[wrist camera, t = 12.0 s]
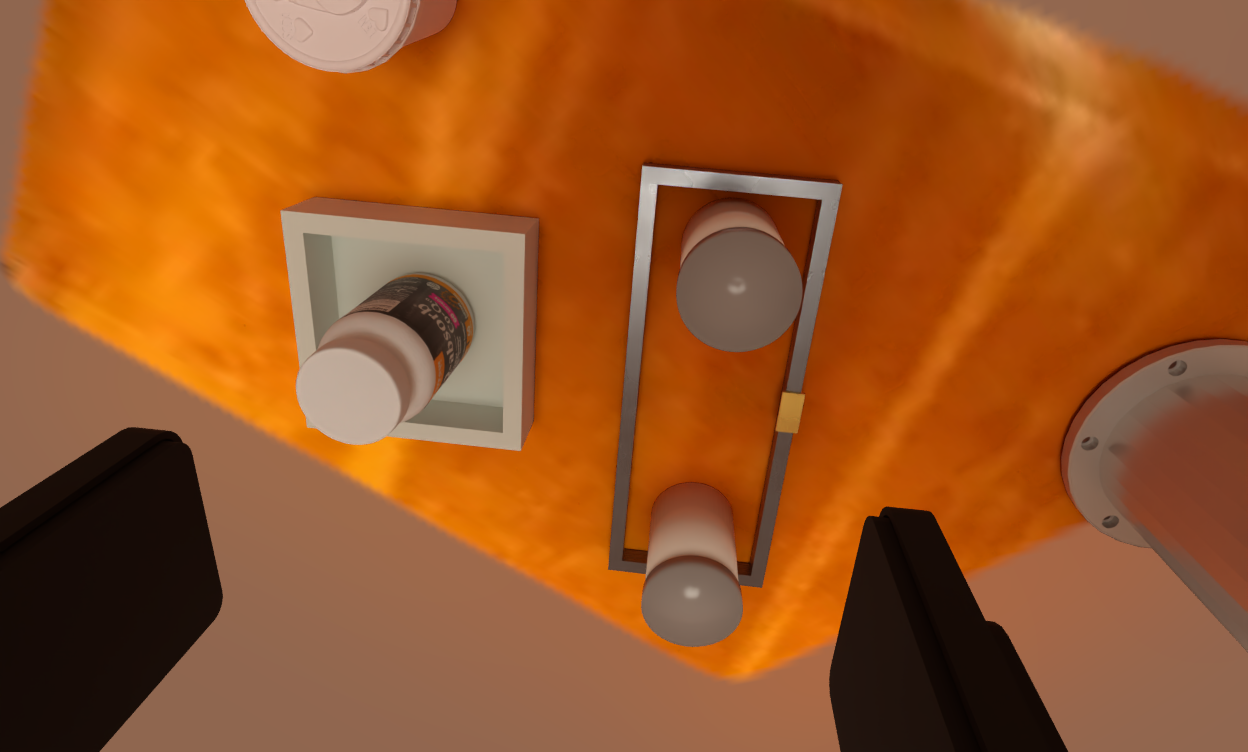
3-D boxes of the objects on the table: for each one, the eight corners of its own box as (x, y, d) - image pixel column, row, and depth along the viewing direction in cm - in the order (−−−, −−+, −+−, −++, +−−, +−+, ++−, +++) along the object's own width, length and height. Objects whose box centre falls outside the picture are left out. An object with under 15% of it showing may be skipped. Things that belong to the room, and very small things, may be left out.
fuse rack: (842, 180, 36) (847, 185, 34) (763, 575, 46) (765, 590, 45) (643, 162, 36) (642, 166, 35) (610, 557, 46) (607, 571, 45)
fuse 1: (789, 200, 36) (813, 239, 29) (772, 299, 38) (790, 358, 31) (685, 191, 36) (683, 226, 29) (674, 289, 39) (670, 345, 31)
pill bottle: (493, 350, 40) (436, 438, 31) (404, 378, 42) (324, 470, 33) (450, 255, 38) (375, 320, 29) (357, 287, 39) (258, 359, 30)
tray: (539, 218, 38) (525, 234, 34) (533, 420, 43) (520, 450, 39) (314, 196, 38) (280, 210, 35) (335, 399, 43) (307, 427, 40)
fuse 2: (740, 486, 43) (749, 574, 36) (728, 555, 45) (735, 652, 38) (653, 476, 44) (646, 562, 36) (645, 546, 46) (637, 640, 38)
